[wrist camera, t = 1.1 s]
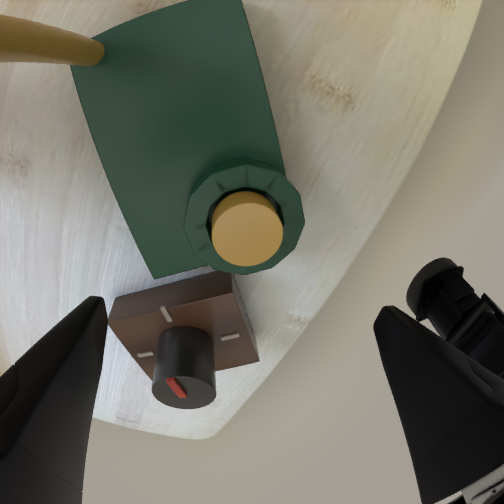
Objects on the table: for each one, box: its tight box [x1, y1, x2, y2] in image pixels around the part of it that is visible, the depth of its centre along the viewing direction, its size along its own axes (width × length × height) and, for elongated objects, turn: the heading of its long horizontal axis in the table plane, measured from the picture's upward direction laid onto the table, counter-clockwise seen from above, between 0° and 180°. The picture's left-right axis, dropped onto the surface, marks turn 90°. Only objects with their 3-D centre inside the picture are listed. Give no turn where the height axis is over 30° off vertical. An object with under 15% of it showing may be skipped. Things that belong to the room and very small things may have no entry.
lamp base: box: [70, 0, 305, 279], centre depth 15 cm, size 16×10×4 cm, turn 14°
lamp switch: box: [212, 191, 283, 266], centre depth 16 cm, size 4×4×2 cm
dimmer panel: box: [108, 271, 259, 381], centre depth 23 cm, size 9×10×3 cm
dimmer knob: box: [152, 327, 216, 409], centre depth 20 cm, size 4×4×5 cm
